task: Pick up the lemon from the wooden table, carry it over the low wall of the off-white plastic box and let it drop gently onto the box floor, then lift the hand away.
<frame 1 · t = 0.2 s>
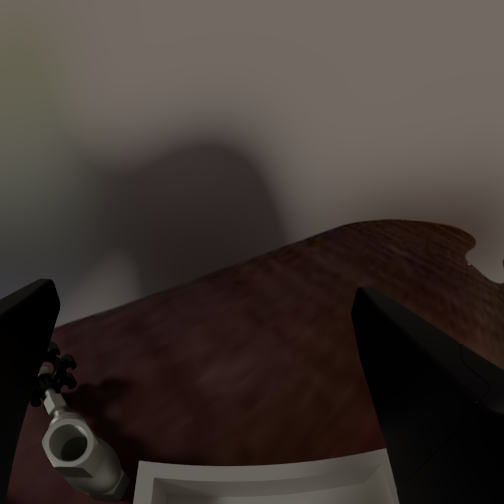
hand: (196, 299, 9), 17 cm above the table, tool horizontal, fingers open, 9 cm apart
valve: (83, 445, 19), on the table
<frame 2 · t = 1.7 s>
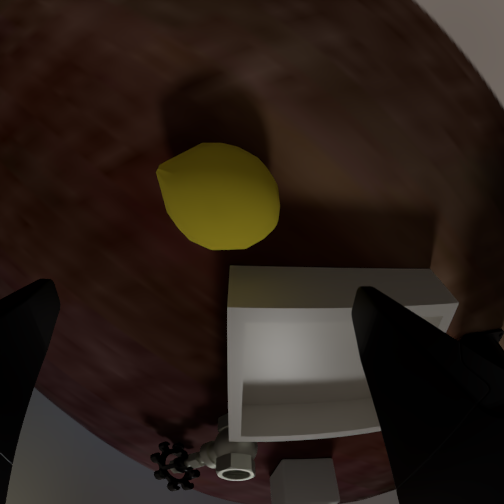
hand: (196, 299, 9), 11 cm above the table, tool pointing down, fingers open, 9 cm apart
medicine bottle: (299, 467, 37), on the table
valve: (210, 429, 31), on the table
lemon: (223, 182, 19), on the table
walled box: (322, 347, 25), on the table
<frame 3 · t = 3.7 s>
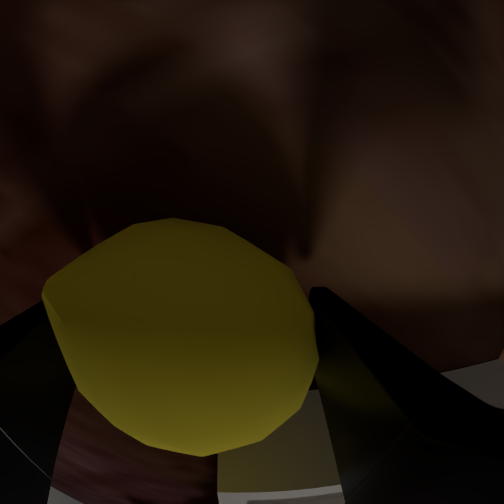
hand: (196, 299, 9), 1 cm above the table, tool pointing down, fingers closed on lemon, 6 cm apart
lemon: (198, 274, 10), on the table, touching gripper
walled box: (348, 455, 16), on the table
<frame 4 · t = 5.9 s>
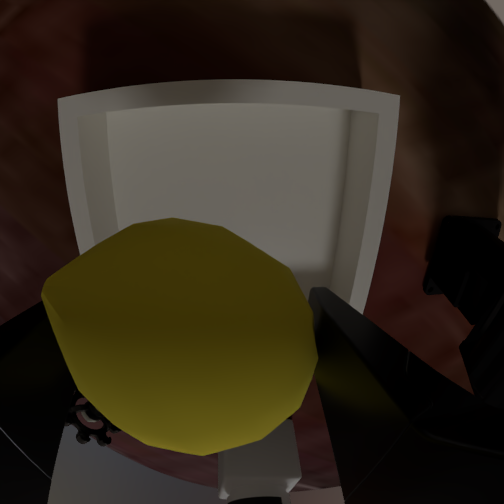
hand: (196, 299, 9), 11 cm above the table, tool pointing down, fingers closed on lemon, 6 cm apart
medicine bottle: (253, 432, 31), on the table
valve: (126, 362, 25), on the table
lemon: (197, 274, 10), point 9 cm above the table, touching gripper
walled box: (228, 212, 19), on the table
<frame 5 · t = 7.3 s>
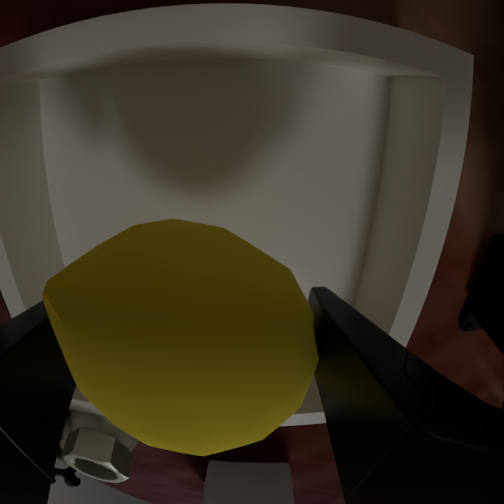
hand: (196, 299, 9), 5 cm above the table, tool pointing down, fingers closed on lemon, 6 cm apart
medicine bottle: (243, 472, 25), on the table
valve: (94, 397, 19), on the table
lemon: (197, 274, 10), point 4 cm above the table, touching gripper
walled box: (207, 225, 13), on the table
when the fingers open (5 cm above the table, at t = 8.1 s): lemon drops 3 cm, resting on walled box.
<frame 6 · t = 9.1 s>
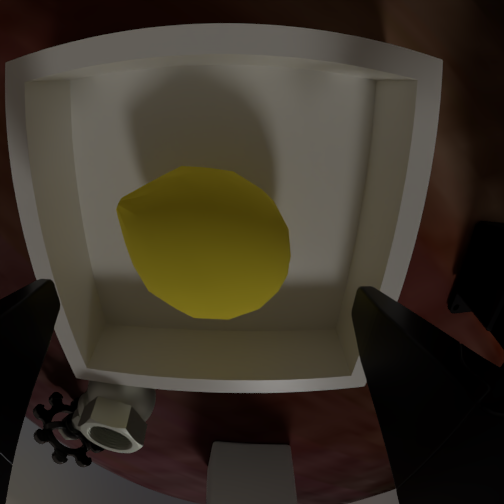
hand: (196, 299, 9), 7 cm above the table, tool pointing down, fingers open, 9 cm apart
medicine bottle: (246, 455, 27), on the table
valve: (107, 375, 21), on the table
lemon: (212, 214, 14), point 1 cm above the table, touching walled box
walled box: (217, 209, 15), on the table
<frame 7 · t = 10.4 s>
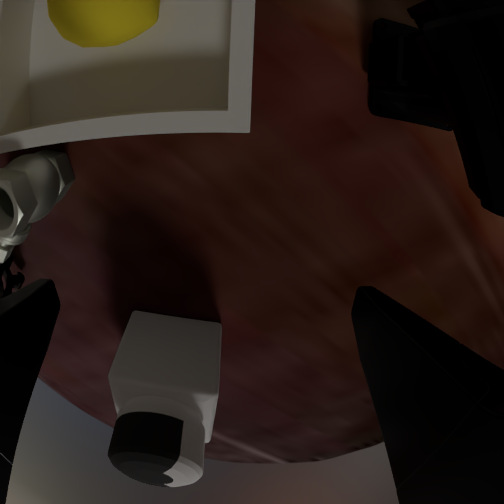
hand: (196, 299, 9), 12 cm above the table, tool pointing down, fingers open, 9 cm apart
medicine bottle: (175, 345, 26), on the table
valve: (33, 211, 20), on the table
lemon: (119, 10, 13), point 1 cm above the table, touching walled box
walled box: (125, 13, 14), on the table
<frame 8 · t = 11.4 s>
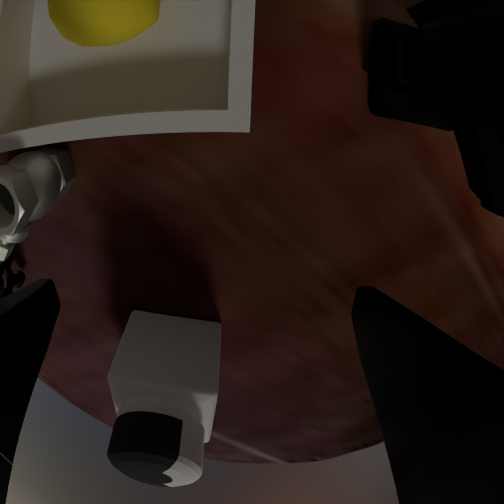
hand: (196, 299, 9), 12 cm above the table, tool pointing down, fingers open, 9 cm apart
medicine bottle: (175, 344, 26), on the table
valve: (33, 209, 20), on the table
lemon: (119, 9, 13), point 1 cm above the table, touching walled box
walled box: (126, 12, 14), on the table
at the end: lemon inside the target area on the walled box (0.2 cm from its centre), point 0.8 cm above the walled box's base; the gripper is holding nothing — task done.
